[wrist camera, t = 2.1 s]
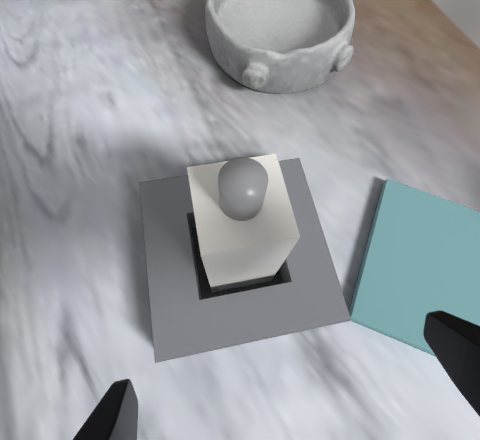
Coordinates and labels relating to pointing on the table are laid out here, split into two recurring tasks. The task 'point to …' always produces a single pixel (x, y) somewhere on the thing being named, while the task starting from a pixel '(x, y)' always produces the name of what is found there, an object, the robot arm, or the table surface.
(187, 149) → the table surface
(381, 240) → the teal mat
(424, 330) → the robot arm
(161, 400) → the table surface
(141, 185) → the socket block
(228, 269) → the plug
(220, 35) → the dish
